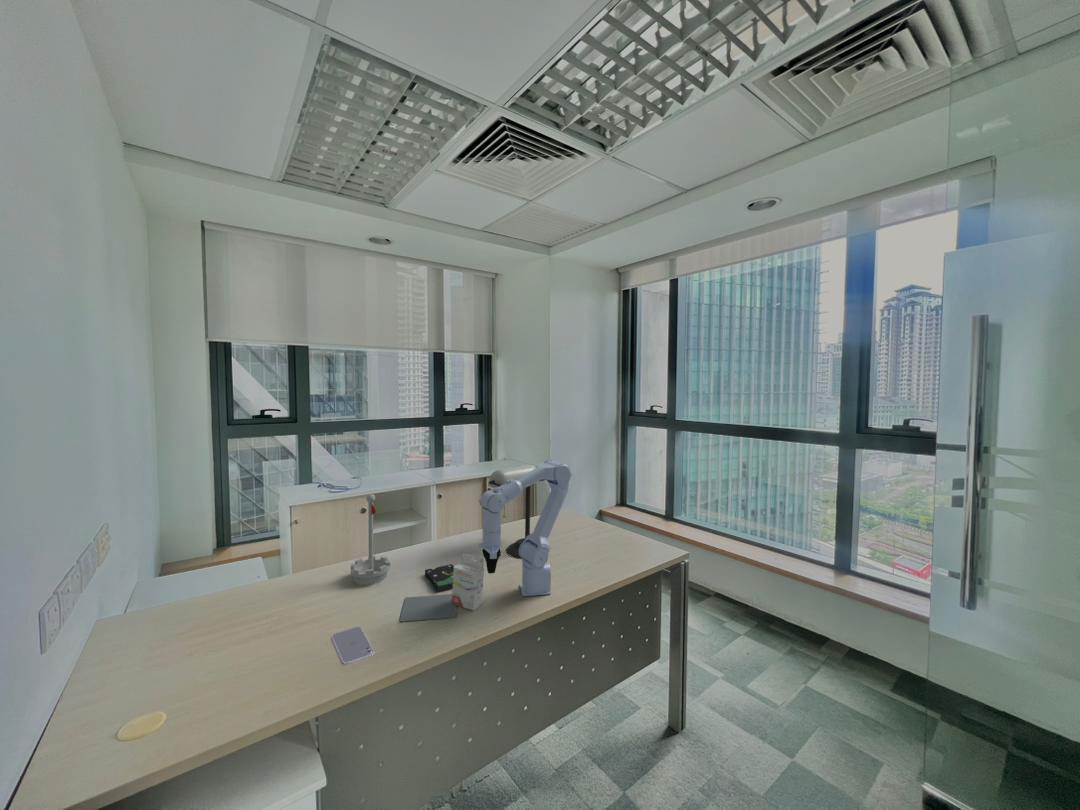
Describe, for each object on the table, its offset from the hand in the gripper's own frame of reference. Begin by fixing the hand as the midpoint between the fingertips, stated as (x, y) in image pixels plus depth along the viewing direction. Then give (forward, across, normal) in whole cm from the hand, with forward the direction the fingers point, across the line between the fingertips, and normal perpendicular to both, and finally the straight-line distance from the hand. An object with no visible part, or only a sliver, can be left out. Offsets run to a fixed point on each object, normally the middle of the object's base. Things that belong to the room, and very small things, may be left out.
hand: (491, 572), depth 134 cm
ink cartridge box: (+10, 0, -8) cm, 12 cm away
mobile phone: (+10, +16, -38) cm, 42 cm away
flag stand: (+10, -24, -40) cm, 48 cm away
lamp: (+10, -43, +16) cm, 47 cm away
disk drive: (+10, -18, -15) cm, 25 cm away
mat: (+10, 0, -19) cm, 21 cm away
